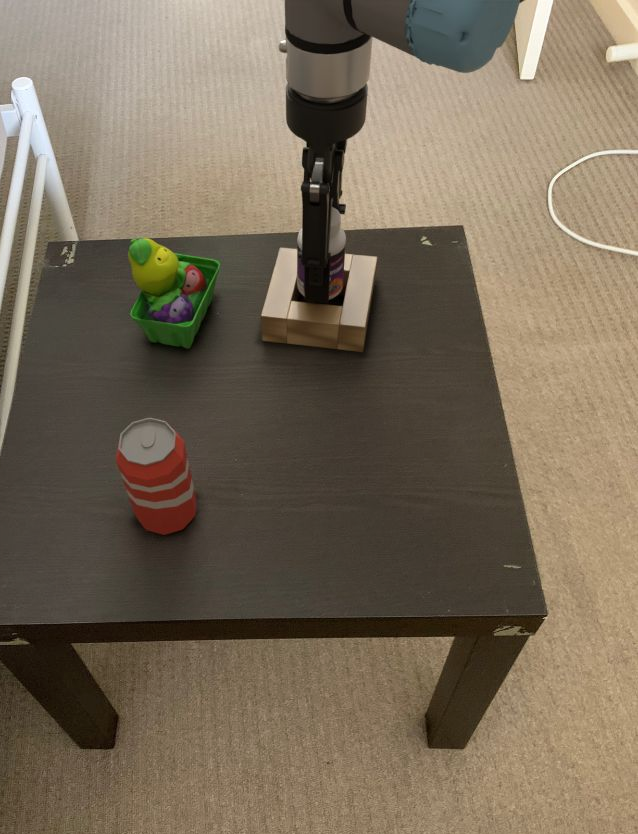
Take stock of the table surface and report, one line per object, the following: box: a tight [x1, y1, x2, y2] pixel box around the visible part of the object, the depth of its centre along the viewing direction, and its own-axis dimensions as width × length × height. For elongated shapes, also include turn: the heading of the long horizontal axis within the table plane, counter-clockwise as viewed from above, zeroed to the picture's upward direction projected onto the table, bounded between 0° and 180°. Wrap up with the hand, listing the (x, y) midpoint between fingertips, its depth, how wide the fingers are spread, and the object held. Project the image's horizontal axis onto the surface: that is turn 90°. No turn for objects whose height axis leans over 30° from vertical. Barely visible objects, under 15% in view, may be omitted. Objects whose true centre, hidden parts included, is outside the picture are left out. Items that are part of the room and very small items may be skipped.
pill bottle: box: [296, 207, 347, 300], centre depth 84 cm, size 5×5×10 cm
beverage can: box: [115, 417, 197, 536], centre depth 72 cm, size 6×6×12 cm
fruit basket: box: [127, 237, 221, 349], centre depth 87 cm, size 11×9×11 cm
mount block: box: [260, 247, 378, 353], centre depth 90 cm, size 12×12×4 cm
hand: (320, 281), depth 88 cm, fingers closed on pill bottle, 5 cm apart
